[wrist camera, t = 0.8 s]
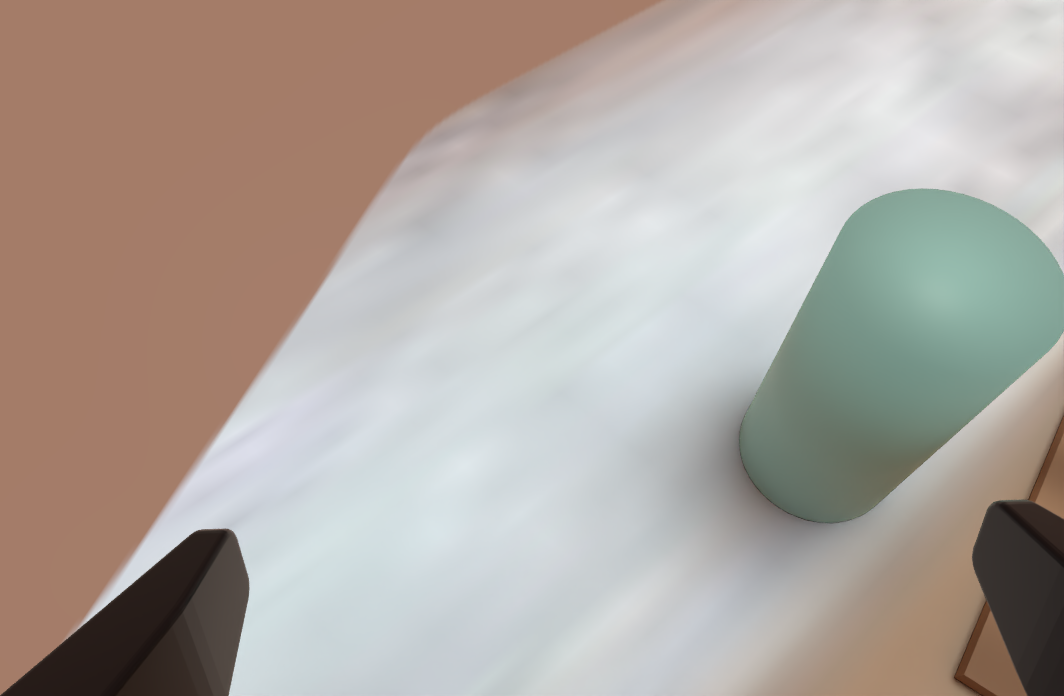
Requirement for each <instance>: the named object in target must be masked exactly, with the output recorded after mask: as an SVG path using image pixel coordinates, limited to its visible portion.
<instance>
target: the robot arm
mask: <svg viewBox="0 0 1064 696" xmlns="http://www.w3.org/2000/svg"><path fill="white" fill-rule="evenodd" d="M972 561H973V567H974V570H975V573H976V576H977V578H978V581H979V583H980V586H981V588H982V590H983V593H984V595H985V598H986V600H987V603H988V605H989V607H990V610H991V612H992V615H993V617H994V620H995V622H996V624H997V627H998V629H999V632H1000V634H1001V637H1002V639H1003V641H1004V644H1005V646H1006V649H1007V651H1008V654H1009V656H1010V658H1011V661H1012V663H1013V666H1014V668H1015V670H1016V673H1017V675H1018V677H1019V679H1020V682H1021V684H1022V686H1023V688H1024V690H1025V692H1026V694H1027V696H1064V519H1063V518H1062V517H1060V516H1058V515H1056V514H1055V513H1053V512H1051V511H1049V510H1047V509H1046V508H1044V507H1042V506H1040V505H1039V504H1037V503H1035V502H1033V501H1029V500H1001V501H996V502H993V503H992V504H991V505H990V506H989V507H988V509H987V512H986V514H985V517H984V520H983V523H982V526H981V528H980V531H979V534H978V537H977V540H976V542H975V545H974V548H973V554H972ZM248 598H249V578H248V574H247V571H246V567H245V564H244V560H243V557H242V554H241V550H240V547H239V543H238V540H237V537H236V535H235V533H234V532H233V531H232V530H229V529H203V530H198V531H196V532H194V533H192V534H191V535H190V536H188V537H187V538H186V539H185V540H184V541H182V542H181V543H180V544H179V545H178V546H177V547H175V548H174V549H173V550H172V551H171V552H169V553H168V554H167V555H166V556H165V557H164V558H162V559H161V560H160V561H159V562H158V563H156V564H155V565H154V566H153V567H152V568H151V569H149V570H148V571H147V572H146V573H145V574H143V575H142V576H141V577H140V578H139V579H138V580H136V581H135V582H134V583H133V584H132V585H130V586H129V587H128V588H127V589H126V590H124V591H123V592H122V593H121V594H120V595H119V596H117V597H116V598H115V599H114V600H113V601H111V602H110V603H109V604H108V605H107V606H106V607H104V608H103V609H102V610H101V611H100V612H98V613H97V614H96V615H95V616H94V617H93V618H91V619H90V620H89V621H88V622H87V623H85V624H84V625H83V626H82V627H81V628H79V629H78V630H77V631H76V632H75V633H74V634H72V635H71V636H70V637H69V638H68V639H66V640H65V641H64V642H63V643H62V644H61V645H59V646H58V647H57V648H56V649H55V650H54V651H52V652H51V653H50V654H49V655H48V656H46V657H45V658H44V659H43V660H42V661H40V662H39V663H38V664H37V665H36V666H34V667H33V668H32V669H31V670H30V671H29V672H27V673H26V674H25V675H24V676H23V677H22V678H21V679H19V680H18V681H17V682H16V683H14V684H13V685H12V686H11V687H10V688H8V689H7V690H6V691H5V692H4V693H3V694H1V695H0V696H229V691H230V686H231V681H232V676H233V671H234V666H235V661H236V657H237V652H238V647H239V642H240V637H241V632H242V627H243V622H244V618H245V613H246V608H247V603H248Z"/></svg>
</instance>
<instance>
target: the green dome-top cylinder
mask: <svg viewBox="0 0 1064 696" xmlns="http://www.w3.org/2000/svg"><path fill="white" fill-rule="evenodd" d="M1063 331H1064V275H1063V272H1062V270H1061V268H1060V266H1059V264H1058V262H1057V261H1056V259H1055V258H1054V256H1053V255H1052V253H1051V252H1050V250H1049V249H1048V248H1047V247H1046V245H1045V244H1044V243H1043V242H1042V241H1041V239H1040V238H1039V237H1037V236H1036V235H1035V234H1034V233H1033V232H1032V231H1031V230H1030V229H1029V228H1028V227H1026V226H1025V225H1024V224H1023V223H1021V222H1020V221H1019V220H1017V219H1016V218H1014V217H1013V216H1011V215H1010V214H1008V213H1007V212H1005V211H1003V210H1001V209H999V208H997V207H995V206H994V205H992V204H989V203H987V202H984V201H982V200H980V199H977V198H974V197H971V196H968V195H964V194H960V193H956V192H951V191H945V190H938V189H908V190H902V191H896V192H892V193H889V194H885V195H882V196H880V197H878V198H875V199H873V200H871V201H869V202H868V203H866V204H865V205H863V206H861V207H860V208H859V209H858V210H857V211H856V212H854V213H853V214H852V215H851V217H850V218H849V219H848V220H847V221H846V223H845V224H844V226H843V228H842V230H841V231H840V233H839V235H838V237H837V239H836V241H835V243H834V245H833V247H832V249H831V251H830V252H829V254H828V256H827V258H826V260H825V262H824V264H823V266H822V268H821V270H820V272H819V274H818V276H817V278H816V279H815V281H814V283H813V285H812V287H811V289H810V291H809V293H808V295H807V297H806V299H805V301H804V303H803V304H802V306H801V308H800V310H799V312H798V314H797V316H796V318H795V320H794V322H793V324H792V326H791V328H790V330H789V331H788V333H787V335H786V337H785V339H784V341H783V343H782V345H781V347H780V349H779V351H778V353H777V355H776V357H775V358H774V360H773V362H772V364H771V366H770V368H769V370H768V372H767V374H766V376H765V378H764V380H763V382H762V383H761V385H760V387H759V389H758V391H757V393H756V395H755V397H754V399H753V401H752V403H751V405H750V407H749V409H748V410H747V412H746V414H745V416H744V419H743V422H742V424H741V429H740V436H739V446H740V453H741V458H742V461H743V464H744V467H745V469H746V471H747V473H748V475H749V477H750V479H751V480H752V482H753V483H754V484H755V486H756V487H757V488H758V489H759V491H760V492H761V493H762V494H763V495H764V496H765V497H766V498H767V499H768V500H770V501H771V502H772V503H773V504H775V505H776V506H778V507H779V508H781V509H782V510H784V511H786V512H788V513H790V514H792V515H794V516H797V517H799V518H802V519H806V520H809V521H815V522H822V523H835V522H843V521H848V520H851V519H854V518H857V517H859V516H861V515H863V514H865V513H867V512H868V511H869V510H871V509H872V508H873V507H875V506H876V505H877V504H878V503H879V502H880V501H881V500H882V499H884V498H885V497H886V496H887V495H888V494H889V493H890V492H891V491H893V490H894V489H895V488H896V487H897V486H898V485H899V484H900V483H902V482H903V481H904V480H905V479H906V478H907V477H908V476H909V475H910V474H912V473H913V472H914V471H915V470H916V469H917V468H918V467H919V466H921V465H922V464H923V463H924V462H925V461H926V460H927V459H928V458H930V457H931V456H932V455H933V454H934V453H935V452H936V451H937V450H938V449H940V448H941V447H942V446H943V445H944V444H945V443H946V442H947V441H949V440H950V439H951V438H952V437H953V436H954V435H955V434H956V433H958V432H959V431H960V430H961V429H962V428H963V427H964V426H965V425H966V424H968V423H969V422H970V421H971V420H972V419H973V418H974V417H975V416H977V415H978V414H979V413H980V412H981V411H982V410H983V409H984V408H986V407H987V406H988V405H989V404H990V403H991V402H992V401H993V400H994V399H996V398H997V397H998V396H999V395H1000V394H1001V393H1002V392H1003V391H1005V390H1006V389H1007V388H1008V387H1009V386H1010V385H1011V384H1012V383H1014V382H1015V381H1016V380H1017V379H1018V378H1019V377H1020V376H1021V375H1022V374H1024V373H1025V372H1026V371H1027V370H1028V369H1029V368H1030V367H1031V366H1033V365H1034V364H1035V363H1036V362H1037V361H1038V360H1039V359H1040V358H1042V357H1043V356H1044V355H1045V354H1046V353H1047V352H1048V351H1049V350H1050V349H1051V348H1052V347H1053V346H1054V345H1055V344H1056V343H1057V341H1058V340H1059V338H1060V336H1061V335H1062V333H1063Z"/></svg>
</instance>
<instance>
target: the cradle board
mask: <svg viewBox="0 0 1064 696" xmlns="http://www.w3.org/2000/svg"><path fill="white" fill-rule="evenodd" d="M1029 501H1033V502H1035V503H1037V504H1039V505H1040V506H1042V507H1044V508H1046V509H1047V510H1049V511H1051V512H1053V513H1055V514H1056V515H1058V516H1060V517H1062V518H1063V519H1064V417H1063V419H1062V422H1061V424H1060V426H1059V429H1058V431H1057V433H1056V436H1055V438H1054V441H1053V443H1052V445H1051V448H1050V450H1049V453H1048V455H1047V457H1046V460H1045V462H1044V465H1043V467H1042V469H1041V472H1040V474H1039V477H1038V479H1037V481H1036V484H1035V486H1034V488H1033V491H1032V493H1031V496H1030V498H1029ZM954 678H956V679H958V680H959V681H961V682H962V683H964V684H965V685H967V686H969V687H970V688H972V689H973V690H975V691H976V692H978V693H979V694H981V695H983V696H1027V694H1026V692H1025V690H1024V688H1023V686H1022V684H1021V682H1020V679H1019V677H1018V675H1017V673H1016V670H1015V668H1014V666H1013V663H1012V661H1011V658H1010V656H1009V654H1008V651H1007V649H1006V646H1005V644H1004V641H1003V639H1002V637H1001V634H1000V632H999V629H998V627H997V624H996V622H995V620H994V617H993V615H992V612H991V610H990V607H989V605H988V603H987V601H986V603H985V606H984V608H983V610H982V613H981V615H980V618H979V620H978V622H977V625H976V627H975V630H974V632H973V634H972V637H971V639H970V642H969V644H968V646H967V649H966V651H965V653H964V656H963V658H962V661H961V663H960V665H959V668H958V670H957V673H956V675H955V677H954Z"/></svg>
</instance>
